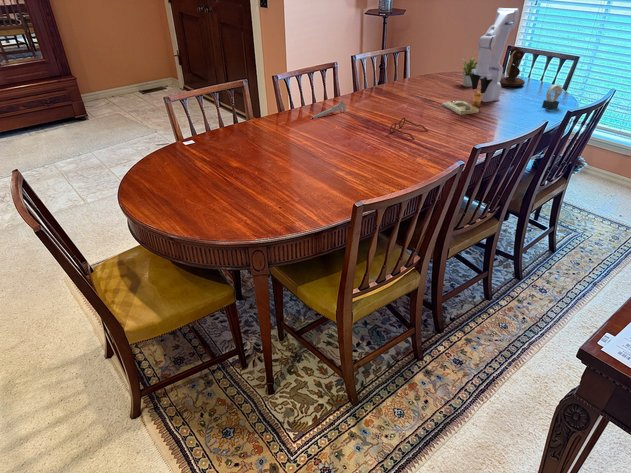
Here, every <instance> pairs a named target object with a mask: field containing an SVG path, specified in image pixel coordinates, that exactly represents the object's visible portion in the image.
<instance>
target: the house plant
mask: <svg viewBox="0 0 631 473" xmlns="http://www.w3.org/2000/svg"><path fill="white" fill-rule="evenodd" d="M462 62H463V65H464V67H461V68H460V70H462V71H464V73H463V74H462V86H463V87H468V88H469V87H472V82H471V78H470V75H472V74H473V73H471V72H472V69H476V67H477V61H476V62H475V56H473V57H472V58H471V57H469V61H468V62H466V60H465V59H464V58H462Z"/></svg>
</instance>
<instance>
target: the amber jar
mask: <svg viewBox="0 0 631 473" xmlns="http://www.w3.org/2000/svg"><path fill="white" fill-rule="evenodd" d="M472 95H473V97H472V103H471V105H473V106H475V107H477V108H479V109H480V107H481V103H482V101H481V99H482V95H483V93H481V90H474V91H473V92H472Z"/></svg>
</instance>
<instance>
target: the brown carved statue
mask: <svg viewBox="0 0 631 473" xmlns="http://www.w3.org/2000/svg"><path fill="white" fill-rule="evenodd" d="M509 56H510V57H509V59H508V62H507V67H506V70H505V73H506V75H507V76H504V77H501V80H500V81H499V82H500V84H501V86H502V88H505V87H520V88H522V87H523V85H525V83H526V81H525V80H524V79H522V78H521V77H519V75H520V74H521V73H520V72H521V69H519V68H518V67H519V66H520V61H521V60H522V59H523V58H524V51H523V50H522V49H520V48H519V47H514V48H512V49H511V50H510V51H509Z"/></svg>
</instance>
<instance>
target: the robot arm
mask: <svg viewBox="0 0 631 473" xmlns="http://www.w3.org/2000/svg"><path fill="white" fill-rule="evenodd" d="M519 17H520V10H519V8H511V7H510V8H507V7H506V8H505V7H498V9H497V10H496V12H495V19H494V20H495V22H494V23H493V25H491V26H489V28H488V29H487V31H486V32H485V34H484V35H482V36H481V37H479V39H478V44H477V48H478V50H477V53H478V55H477V61H476V62H477V65H476V66H477V67H476V69H472V72H471V73H473V74H472V75H470V78H471V82H472V86H471V87H472V88H471V89H472V90H477V89H478V85H479V82H480V91H481V93H483V95H482V99H481V102H484V103H487V102H494V101H500V100H501V99H500V96H501V90H502V85H501V84H500V82H499V81H500V80H501V78H503V77H502V76H503V72H504V67H503V66H502V64H501V59H502V57H503V54H504V51H505V47H506V45H507V41H508V38H509V35H510V33H511V31H512V30H513V29H515V27H516V26H517V24H518V20H519Z"/></svg>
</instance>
